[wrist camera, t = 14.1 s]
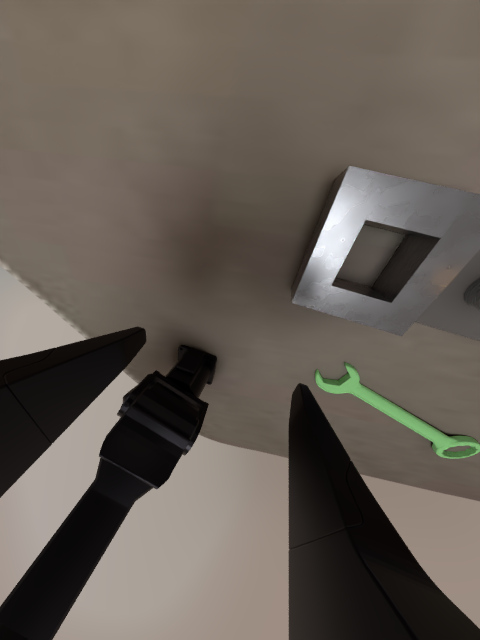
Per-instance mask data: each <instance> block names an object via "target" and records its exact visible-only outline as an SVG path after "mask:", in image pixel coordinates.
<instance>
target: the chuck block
mask: <svg viewBox="0 0 480 640" xmlns="http://www.w3.org/2000/svg"><path fill="white" fill-rule="evenodd" d="M363 224H365V225H369V226H373V227H377V228H381V229H385V230H389V231H393V232H397V233H401V234H405V235H406V237H405V238H404V240H403V241H402V243H401V244H400V246H399V247H398V249H397V250H396V252H395V253H394V255H393V257H392V258H391V260H390V261H389V263H388V264H387V266H386V267H385V269H384V270H383V272H382V273H381V275H380V276H379V278H378V279H377V281H376V282H375V284H374V285H373V287H372V288H370V287H367V286H363V285H360V284H356V283H353V282H349V281H346V280H342V279H339V278H335V277H336V275H337V273H338V272H339V270H340V268H341V266H342V264H343V262H344V260H345V258H346V256H347V254H348V252H349V251H350V249H351V247H352V245H353V243H354V241H355V239H356V237H357V235H358V233H359V231H360V230H361V228H362V226H363ZM479 250H480V194H476V193H471V192H467V191H462V190H458V189H453V188H448V187H444V186H439V185H435V184H430V183H425V182H421V181H416V180H412V179H407V178H403V177H398V176H393V175H389V174H384V173H380V172H375V171H370V170H366V169H361V168H357V167H352V166H349V167H347V168H346V169H345V170H344V171H343V172H342V173H341V174H340V175H339V176H338V177H337V178H336V179H335V181H334V183H333V186H332V188H331V191H330V193H329V196H328V198H327V201H326V203H325V206H324V208H323V211H322V213H321V216H320V218H319V221H318V223H317V226H316V228H315V231H314V233H313V236H312V238H311V241H310V243H309V246H308V248H307V251H306V253H305V256H304V258H303V261H302V263H301V266H300V268H299V271H298V273H297V276H296V278H295V281H294V283H293V286H292V288H291V299H292V303H294V304H297V305H301V306H304V307H307V308H311V309H314V310H317V311H320V312H324V313H327V314H330V315H334V316H337V317H340V318H343V319H347V320H350V321H353V322H357V323H360V324H363V325H366V326H370V327H373V328H376V329H380V330H383V331H386V332H390V333H393V334H396V335H399V336H402V335H403V334H404V333H405V332H406V331H407V330H408V329H409V328H410V326H411V325H412V324H413V323H414V322H415V321H416V320H417V319H418V318H419V316H420V315H421V314H422V313H423V312H424V311H425V310H426V309H427V308H428V306H429V305H430V304H431V303H432V302H433V301H434V300H435V299H436V298H437V296H438V295H439V294H440V293H441V292H442V291H443V290H444V289H445V288H446V286H447V285H448V284H449V283H450V282H451V281H452V280H453V279H454V278H455V276H456V275H457V274H458V273H459V272H460V271H461V270H462V269H463V268H464V266H465V265H466V264H467V263H468V262H469V261H470V260H471V259H472V258H473V256H474V255H475V254H476V253H477V252H478V251H479Z"/></svg>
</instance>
